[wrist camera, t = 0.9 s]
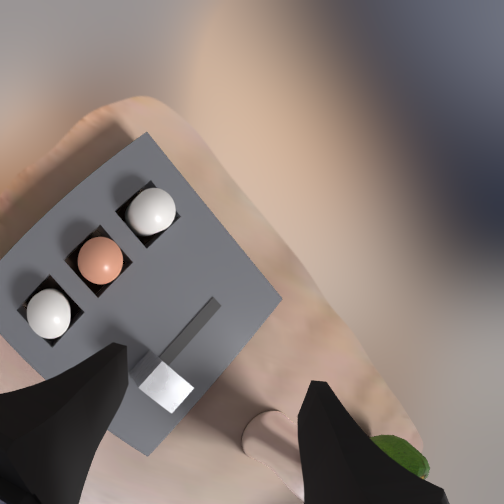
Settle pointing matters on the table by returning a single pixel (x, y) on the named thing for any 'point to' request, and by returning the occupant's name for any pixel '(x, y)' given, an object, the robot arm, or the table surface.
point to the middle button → (100, 260)
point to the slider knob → (160, 382)
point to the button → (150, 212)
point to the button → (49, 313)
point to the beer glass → (276, 448)
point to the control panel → (139, 289)
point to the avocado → (403, 454)
